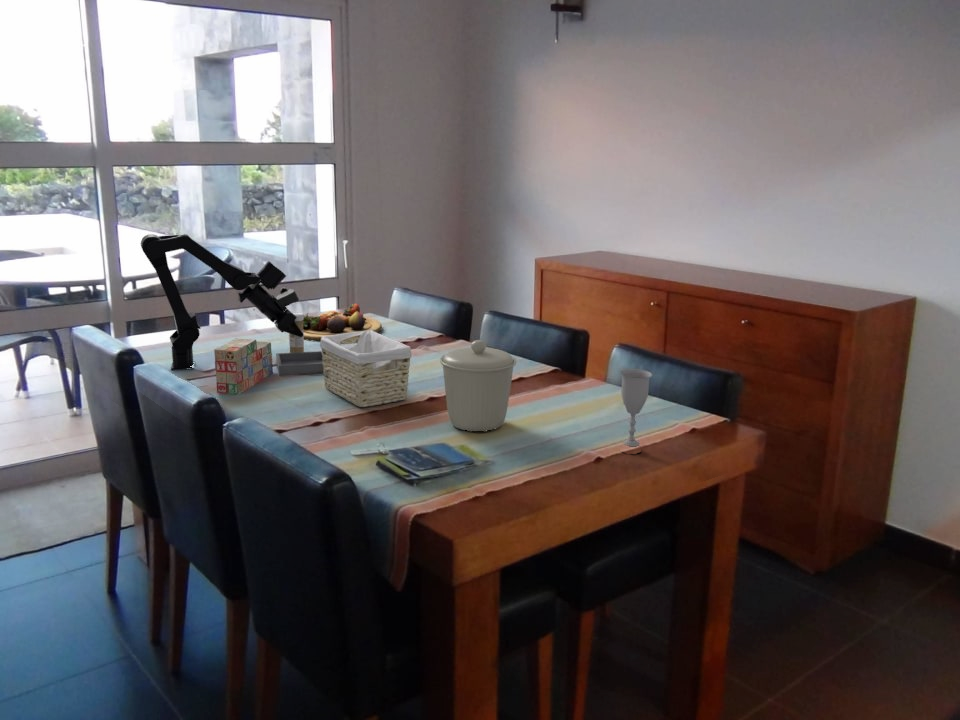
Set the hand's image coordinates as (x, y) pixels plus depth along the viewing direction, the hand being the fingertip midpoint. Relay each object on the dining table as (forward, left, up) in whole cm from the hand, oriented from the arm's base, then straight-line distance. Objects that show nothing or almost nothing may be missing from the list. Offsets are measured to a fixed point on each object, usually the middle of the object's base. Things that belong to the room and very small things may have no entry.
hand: (300, 334), depth 260 cm
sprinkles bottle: (0, -1, -7) cm, 7 cm away
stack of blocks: (+25, -17, -7) cm, 31 cm away
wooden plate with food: (-32, +14, -8) cm, 36 cm away
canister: (+73, +36, -7) cm, 81 cm away
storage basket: (+42, +13, -7) cm, 45 cm away
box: (+13, -1, -7) cm, 15 cm away
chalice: (+97, +65, -7) cm, 117 cm away
